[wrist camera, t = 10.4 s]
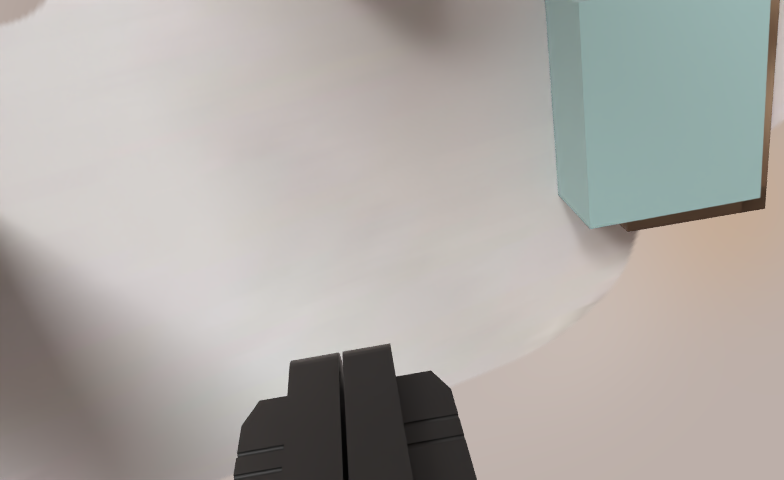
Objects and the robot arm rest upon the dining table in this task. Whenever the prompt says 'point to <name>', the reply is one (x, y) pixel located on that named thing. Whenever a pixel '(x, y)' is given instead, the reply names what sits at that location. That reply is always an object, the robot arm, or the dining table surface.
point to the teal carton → (657, 104)
